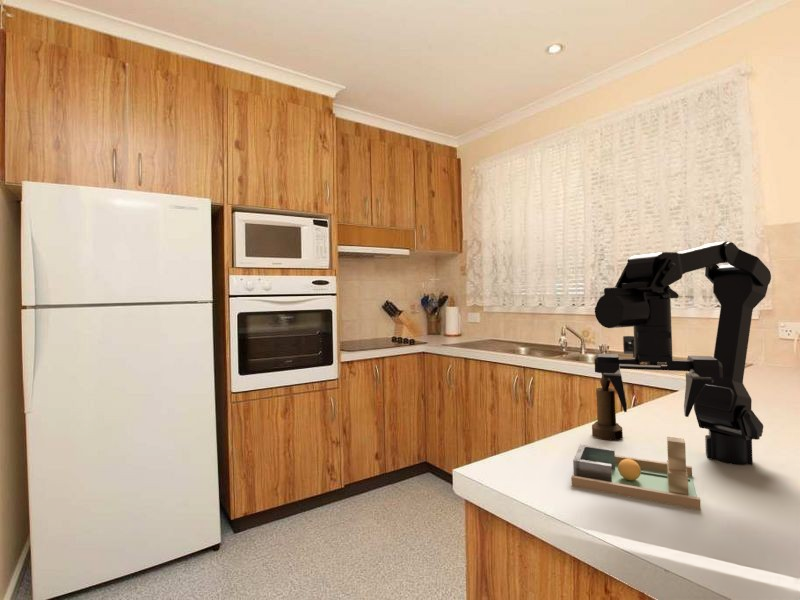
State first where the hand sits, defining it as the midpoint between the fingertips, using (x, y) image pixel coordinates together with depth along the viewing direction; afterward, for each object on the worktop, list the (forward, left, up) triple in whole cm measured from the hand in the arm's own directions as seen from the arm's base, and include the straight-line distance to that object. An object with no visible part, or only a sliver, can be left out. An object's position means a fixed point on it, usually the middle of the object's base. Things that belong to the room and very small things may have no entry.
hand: (655, 413), depth 73 cm
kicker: (-3, +3, -11) cm, 12 cm away
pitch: (+4, +3, -12) cm, 13 cm away
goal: (+10, +3, -11) cm, 15 cm away
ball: (+4, +3, -10) cm, 11 cm away
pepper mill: (+10, -24, -12) cm, 29 cm away
